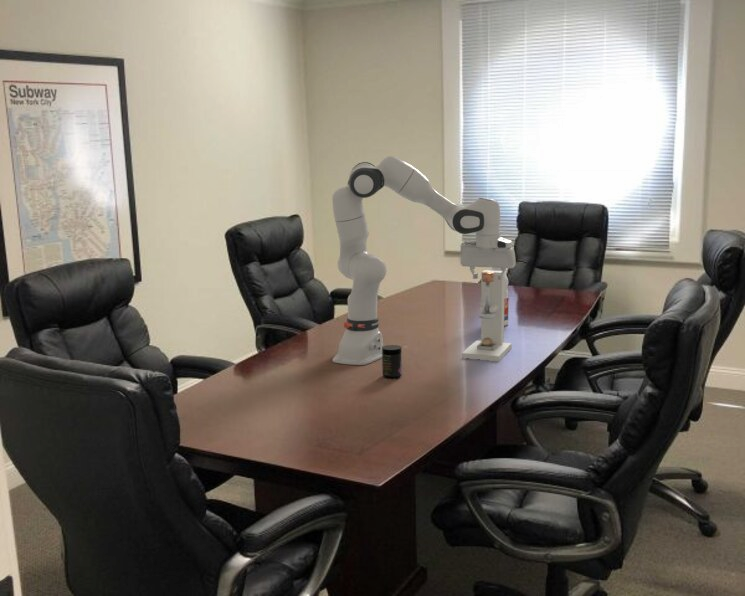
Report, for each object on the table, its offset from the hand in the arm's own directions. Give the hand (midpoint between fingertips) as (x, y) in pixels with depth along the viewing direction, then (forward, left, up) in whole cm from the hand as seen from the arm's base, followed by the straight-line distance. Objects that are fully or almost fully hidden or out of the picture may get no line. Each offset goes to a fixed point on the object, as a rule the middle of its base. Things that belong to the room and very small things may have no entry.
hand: (487, 279), depth 297 cm
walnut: (0, 0, -24) cm, 24 cm away
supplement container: (-40, +23, -29) cm, 54 cm away
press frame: (0, 0, -28) cm, 28 cm away
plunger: (0, 0, -14) cm, 14 cm away
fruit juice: (+48, +8, -29) cm, 56 cm away
